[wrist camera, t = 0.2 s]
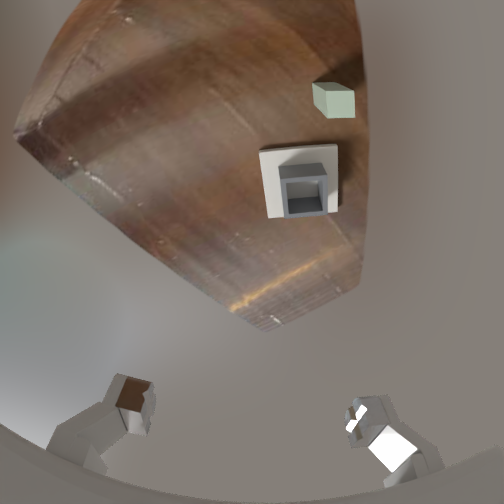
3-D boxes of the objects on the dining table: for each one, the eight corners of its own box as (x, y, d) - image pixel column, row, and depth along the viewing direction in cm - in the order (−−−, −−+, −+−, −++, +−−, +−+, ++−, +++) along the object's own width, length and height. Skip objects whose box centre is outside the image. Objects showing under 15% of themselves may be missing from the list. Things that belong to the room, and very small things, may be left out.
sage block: (314, 104, 48) (327, 118, 39) (311, 82, 45) (325, 91, 36) (336, 103, 47) (355, 117, 38) (334, 82, 44) (353, 90, 35)
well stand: (268, 214, 65) (268, 234, 59) (258, 150, 55) (258, 164, 49) (335, 208, 63) (343, 227, 58) (335, 143, 53) (345, 156, 47)
